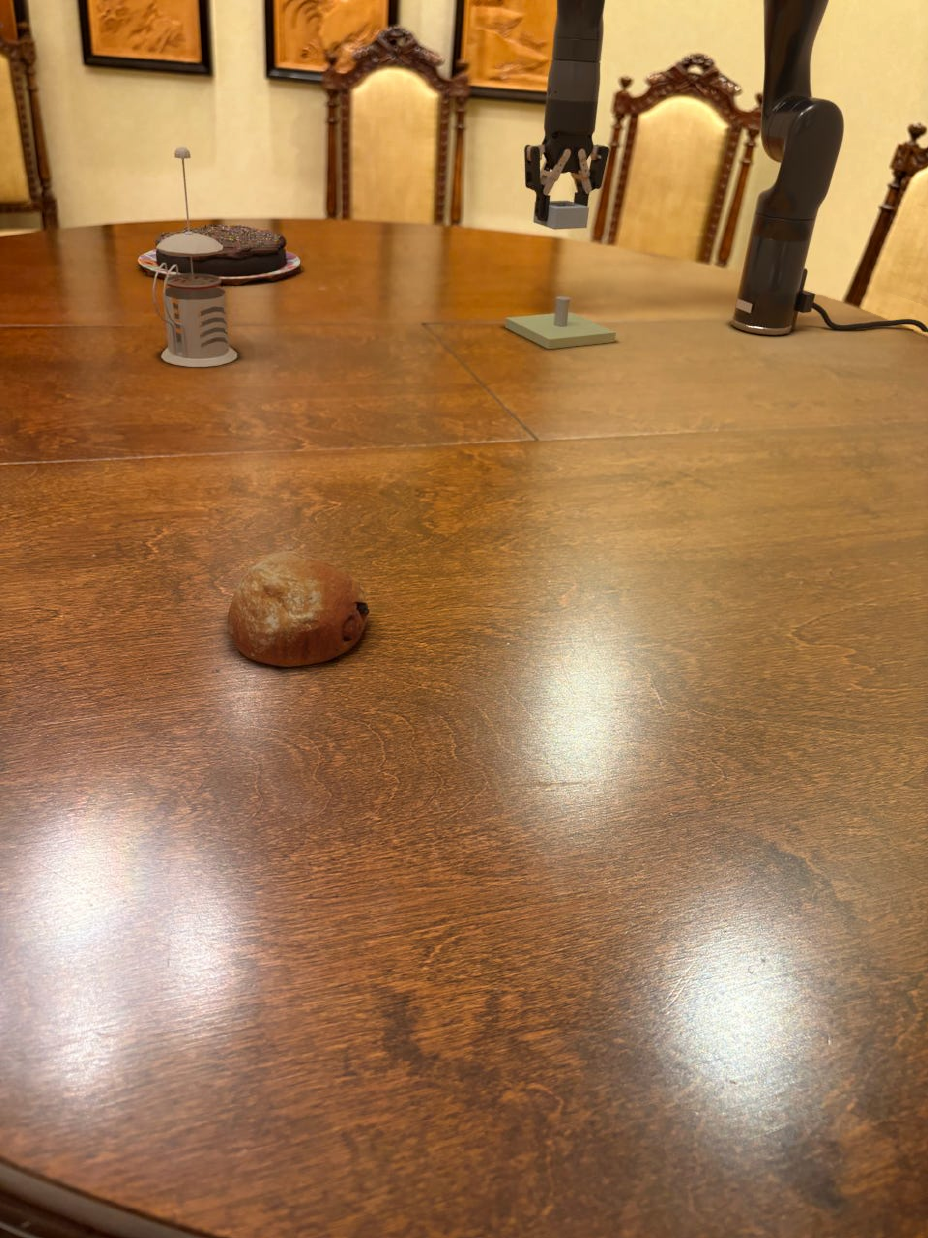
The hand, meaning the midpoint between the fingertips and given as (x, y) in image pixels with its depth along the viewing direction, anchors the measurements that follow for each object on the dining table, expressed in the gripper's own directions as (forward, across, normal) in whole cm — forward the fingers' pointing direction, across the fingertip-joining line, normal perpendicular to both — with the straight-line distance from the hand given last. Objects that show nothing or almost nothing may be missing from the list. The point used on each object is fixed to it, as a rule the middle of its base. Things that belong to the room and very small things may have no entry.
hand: (560, 219), depth 149 cm
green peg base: (+15, -5, -10) cm, 18 cm away
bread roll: (+14, -70, -73) cm, 102 cm away
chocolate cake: (+14, -41, +44) cm, 62 cm away
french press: (+14, -59, -5) cm, 61 cm away
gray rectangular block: (+1, 0, 0) cm, 1 cm away
